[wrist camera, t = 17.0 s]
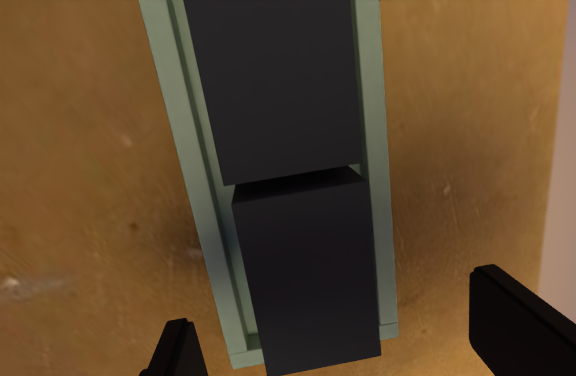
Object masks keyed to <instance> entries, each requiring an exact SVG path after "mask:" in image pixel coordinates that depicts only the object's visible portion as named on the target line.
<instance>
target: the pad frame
mask: <svg viewBox="0 0 576 376" xmlns="http://www.w3.org/2000/svg"><path fill="white" fill-rule="evenodd" d="M139 4H140V8H141V12H142V16H143V20H144V24H145V28H146V32H147V36H148V40H149V44H150V48H151V52H152V56H153V60H154V63H155V67H156V71H157V75H158V79H159V83H160V87H161V91H162V95H163V99H164V103H165V107H166V111H167V115H168V119H169V123H170V126H171V130H172V134H173V138H174V142H175V146H176V150H177V154H178V158H179V162H180V166H181V170H182V174H183V178H184V182H185V185H186V189H187V193H188V197H189V201H190V205H191V209H192V213H193V217H194V221H195V225H196V229H197V233H198V237H199V241H200V245H201V248H202V252H203V256H204V260H205V264H206V268H207V272H208V276H209V280H210V284H211V288H212V292H213V296H214V300H215V304H216V308H217V311H218V315H219V319H220V323H221V327H222V331H223V335H224V339H225V343H226V347H227V351H228V354H229V358H230V362H231V366H232V369H238V368H243V367H248V366H253V365H258V364H263V363H264V358H263V353H262V348H261V344H260V339H259V334H258V330H257V325H256V320H255V316H254V311H253V306H252V302H251V297H250V292H249V288H248V283H247V278H246V274H245V269H244V264H243V260H242V255H241V250H240V246H239V241H238V236H237V231H236V227H235V222H234V217H233V213H232V208H231V203H232V198H233V193H234V188H235V185H230V186H224V185H223V181H222V177H221V172H220V168H219V163H218V158H217V154H216V149H215V145H214V140H213V135H212V131H211V126H210V122H209V117H208V112H207V108H206V103H205V99H204V94H203V89H202V85H201V80H200V76H199V71H198V66H197V62H196V57H195V53H194V48H193V44H192V39H191V34H190V30H189V25H188V21H187V16H186V11H185V7H184V2H183V0H139ZM350 4H351V16H352V28H353V40H354V52H355V65H356V77H357V89H358V101H359V113H360V126H361V138H362V150H363V163H359V164H353V165H349V166H350V167H351V168H352V169H353V170H355V171H356V172H357V173H358V174H360V175H361V176H362V177H363V178H364V179H366V180H367V181H368V191H369V203H370V216H371V229H372V242H373V254H374V267H375V280H376V293H377V306H378V318H379V331H380V340H385V339H391V338H396V337H399V329H398V311H397V294H396V277H395V260H394V243H393V226H392V208H391V191H390V174H389V157H388V140H387V122H386V105H385V88H384V71H383V54H382V37H381V19H380V2H379V0H350Z"/></svg>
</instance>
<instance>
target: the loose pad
mask: <svg viewBox="0 0 576 376" xmlns="http://www.w3.org/2000/svg"><path fill="white" fill-rule="evenodd" d="M231 208H232V213H233V217H234V222H235V227H236V231H237V236H238V241H239V246H240V250H241V255H242V260H243V264H244V269H245V274H246V278H247V283H248V288H249V292H250V297H251V302H252V306H253V311H254V316H255V320H256V325H257V330H258V334H259V339H260V344H261V348H262V353H263V358H264V363H265V367H266V372H267V376H281V375H286V374H291V373H296V372H302V371H307V370H312V369H317V368H322V367H327V366H332V365H337V364H342V363H347V362H352V361H357V360H362V359H367V358H372V357H377V356H381V344H380V331H379V318H378V306H377V293H376V280H375V267H374V254H373V242H372V229H371V216H370V203H369V191H368V181H367V180H366V179H364V178H363V177H362V176H361V175H360V174H358V173H357V172H356V171H355V170H353V169H352V168H351V167H350V166H349V165H348V166H342V167H336V168H330V169H324V170H318V171H312V172H306V173H300V174H295V175H289V176H283V177H277V178H271V179H265V180H259V181H253V182H247V183H242V184H236V185H235V188H234V193H233V198H232V203H231Z"/></svg>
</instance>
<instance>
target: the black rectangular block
mask: <svg viewBox="0 0 576 376" xmlns="http://www.w3.org/2000/svg"><path fill="white" fill-rule="evenodd" d="M183 2H184V7H185V11H186V16H187V21H188V25H189V30H190V34H191V39H192V44H193V48H194V53H195V57H196V62H197V66H198V71H199V76H200V80H201V85H202V89H203V94H204V99H205V103H206V108H207V112H208V117H209V122H210V126H211V131H212V135H213V140H214V145H215V149H216V154H217V158H218V163H219V168H220V172H221V177H222V181H223V185H224V186H230V185H236V184H242V183H247V182H253V181H259V180H265V179H271V178H277V177H283V176H289V175H295V174H300V173H306V172H312V171H318V170H324V169H330V168H336V167H342V166H348V165H353V164H359V163H363V150H362V138H361V126H360V113H359V101H358V89H357V77H356V65H355V52H354V40H353V28H352V16H351V4H350V0H183Z"/></svg>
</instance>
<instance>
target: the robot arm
mask: <svg viewBox="0 0 576 376" xmlns="http://www.w3.org/2000/svg"><path fill="white" fill-rule="evenodd" d="M469 341H470V344H471V346H472V348H473V349H474V351H475V352H476V353H477V354H478V355H479V357H480V358H481V359H482V360H483V362H484V363H485V364H486V365H487V366H488V368H489V369H490V370H491V371H492V373H493V374H494V375H495V376H576V324H575V323H573V322H572V321H571V320H569V319H568V318H567V317H565V316H564V315H562V314H561V313H560V312H558V311H557V310H556V309H554V308H553V307H552V306H550V305H549V304H548V303H546V302H545V301H544V300H542V299H541V298H540V297H538V296H537V295H536V294H534V293H533V292H532V291H530V290H529V289H528V288H526V287H525V286H524V285H522V284H521V283H520V282H518V281H517V280H515V279H514V278H513V277H511V276H510V275H509V274H507V273H506V272H505V271H503V270H502V269H501V268H499V267H498V266H496V265H495V264H490V265H484V266H478V267H475V268H474V271H473V272H471V273H470V283H469ZM139 376H208V373H207V369H206V366H205V362H204V358H203V355H202V351H201V348H200V344H199V340H198V337H197V333H196V330H195V326H194V323H193V322H192V321H191V322H188V320H187V319H186V318H182V319H176V320H170V321H168V322H167V323H166V325H165V328H164V330H163V332H162V335H161V337H160V340H159V342H158V344H157V347H156V349H155V352H154V354H153V357H152V359H151V361H150V364H149V366H148V369H144V370H142V371H141V372H140V374H139Z"/></svg>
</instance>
